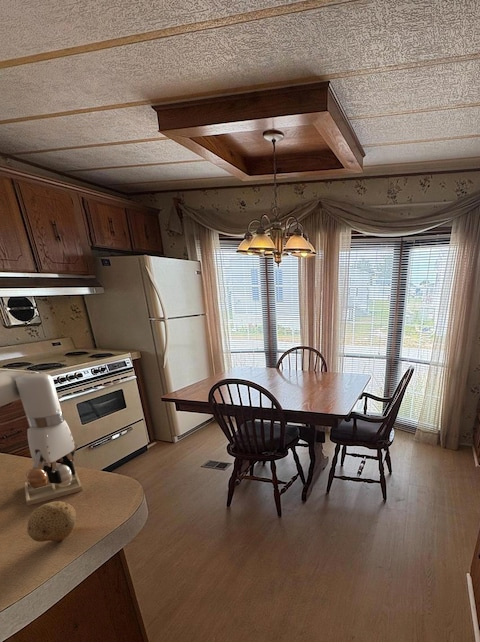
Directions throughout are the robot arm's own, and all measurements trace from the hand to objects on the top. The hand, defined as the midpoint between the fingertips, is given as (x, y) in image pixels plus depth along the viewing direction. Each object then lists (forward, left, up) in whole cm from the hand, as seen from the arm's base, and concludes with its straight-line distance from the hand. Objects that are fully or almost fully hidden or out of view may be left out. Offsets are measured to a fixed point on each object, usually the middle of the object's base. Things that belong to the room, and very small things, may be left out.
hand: (62, 477), depth 99 cm
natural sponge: (+8, -24, -4) cm, 25 cm away
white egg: (0, 0, -2) cm, 2 cm away
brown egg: (-8, +2, -4) cm, 9 cm away
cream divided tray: (-4, +1, -4) cm, 6 cm away
